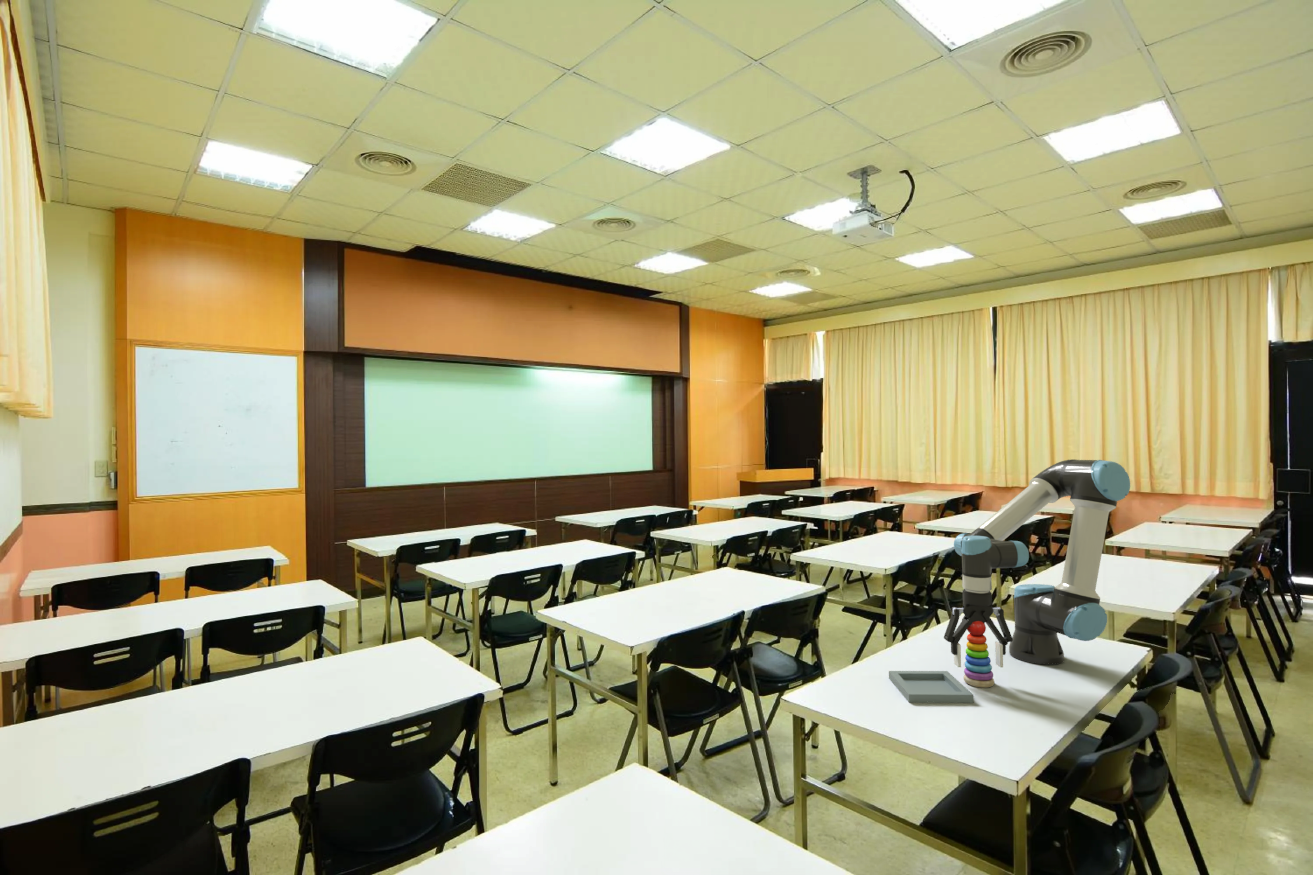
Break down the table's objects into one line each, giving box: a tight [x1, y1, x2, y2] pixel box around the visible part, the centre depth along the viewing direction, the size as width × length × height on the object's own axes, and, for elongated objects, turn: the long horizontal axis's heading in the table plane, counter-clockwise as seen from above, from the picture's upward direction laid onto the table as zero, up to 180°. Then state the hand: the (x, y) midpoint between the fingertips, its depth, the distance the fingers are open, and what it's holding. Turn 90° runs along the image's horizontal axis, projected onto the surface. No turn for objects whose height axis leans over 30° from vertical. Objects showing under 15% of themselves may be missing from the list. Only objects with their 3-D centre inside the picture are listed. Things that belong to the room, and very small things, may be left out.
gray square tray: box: [888, 670, 975, 704], centre depth 175 cm, size 17×17×2 cm
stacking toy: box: [963, 621, 995, 689], centre depth 179 cm, size 8×8×19 cm
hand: (978, 665), depth 179 cm, fingers open, 11 cm apart
